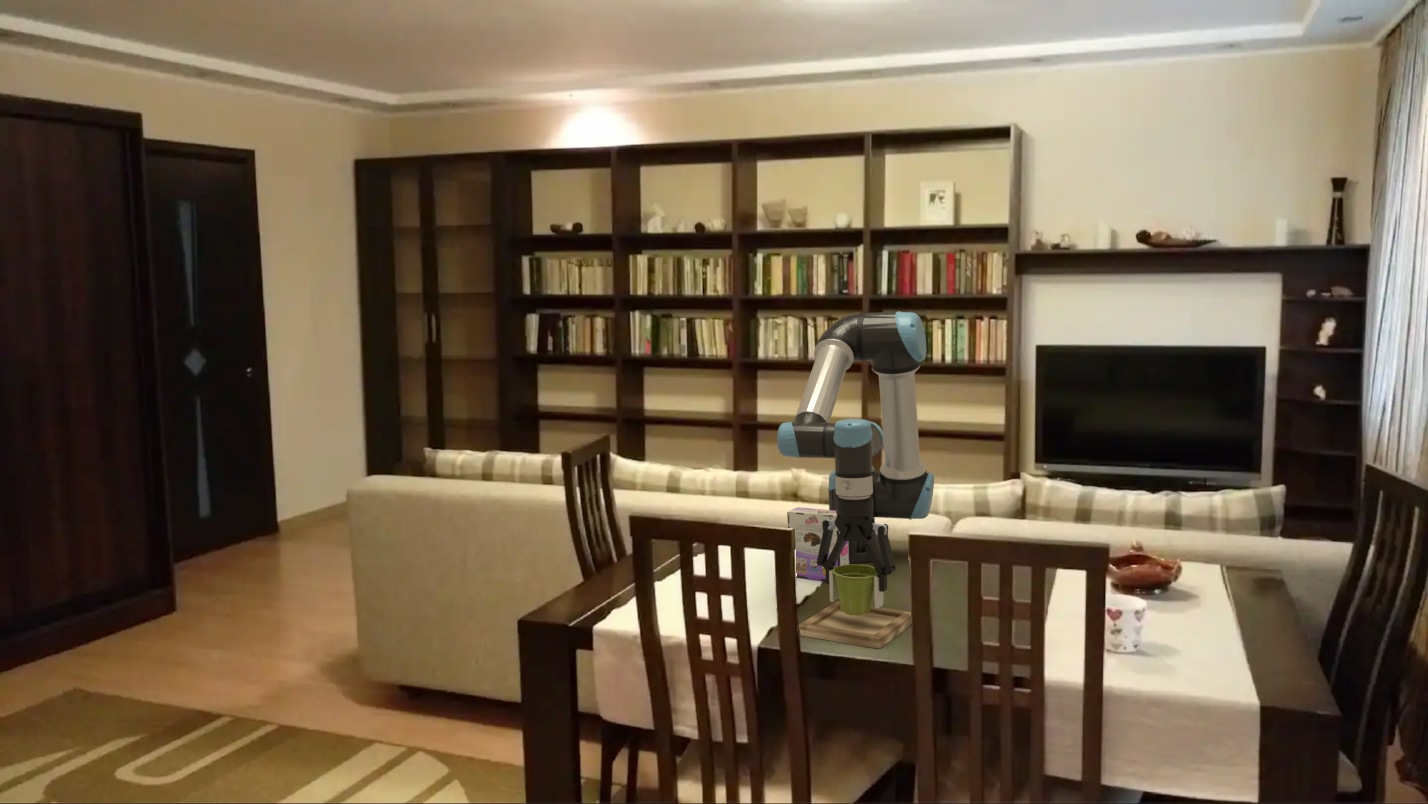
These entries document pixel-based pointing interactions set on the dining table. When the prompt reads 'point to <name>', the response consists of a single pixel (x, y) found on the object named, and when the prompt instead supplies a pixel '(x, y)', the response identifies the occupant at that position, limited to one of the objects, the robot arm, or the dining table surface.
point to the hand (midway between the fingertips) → (856, 602)
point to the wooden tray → (856, 626)
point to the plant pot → (855, 588)
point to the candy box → (813, 541)
